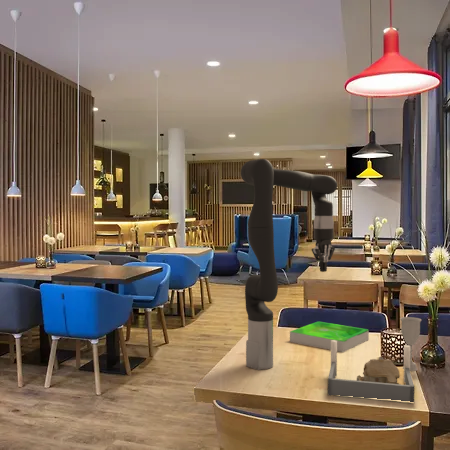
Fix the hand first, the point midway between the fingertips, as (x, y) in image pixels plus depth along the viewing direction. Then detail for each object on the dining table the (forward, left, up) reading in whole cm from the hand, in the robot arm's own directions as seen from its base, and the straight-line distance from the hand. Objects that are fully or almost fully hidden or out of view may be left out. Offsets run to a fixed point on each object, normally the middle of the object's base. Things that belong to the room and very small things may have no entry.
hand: (323, 271), depth 195 cm
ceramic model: (-17, -34, -33) cm, 51 cm away
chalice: (+8, -32, -33) cm, 47 cm away
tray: (+20, +10, -34) cm, 40 cm away
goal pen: (-20, -32, -33) cm, 50 cm away
